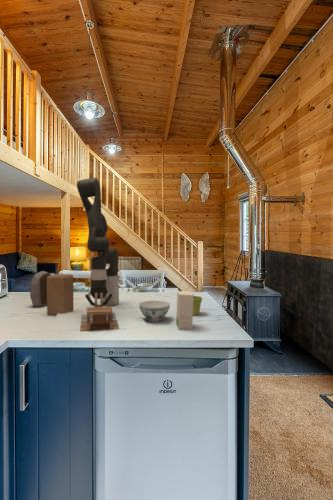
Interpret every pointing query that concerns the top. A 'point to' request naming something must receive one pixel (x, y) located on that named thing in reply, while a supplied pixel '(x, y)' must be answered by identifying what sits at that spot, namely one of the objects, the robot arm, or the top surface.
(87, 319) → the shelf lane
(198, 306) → the plant pot
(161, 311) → the chinaware
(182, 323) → the skincare box
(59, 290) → the block
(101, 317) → the cord block
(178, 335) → the top surface
